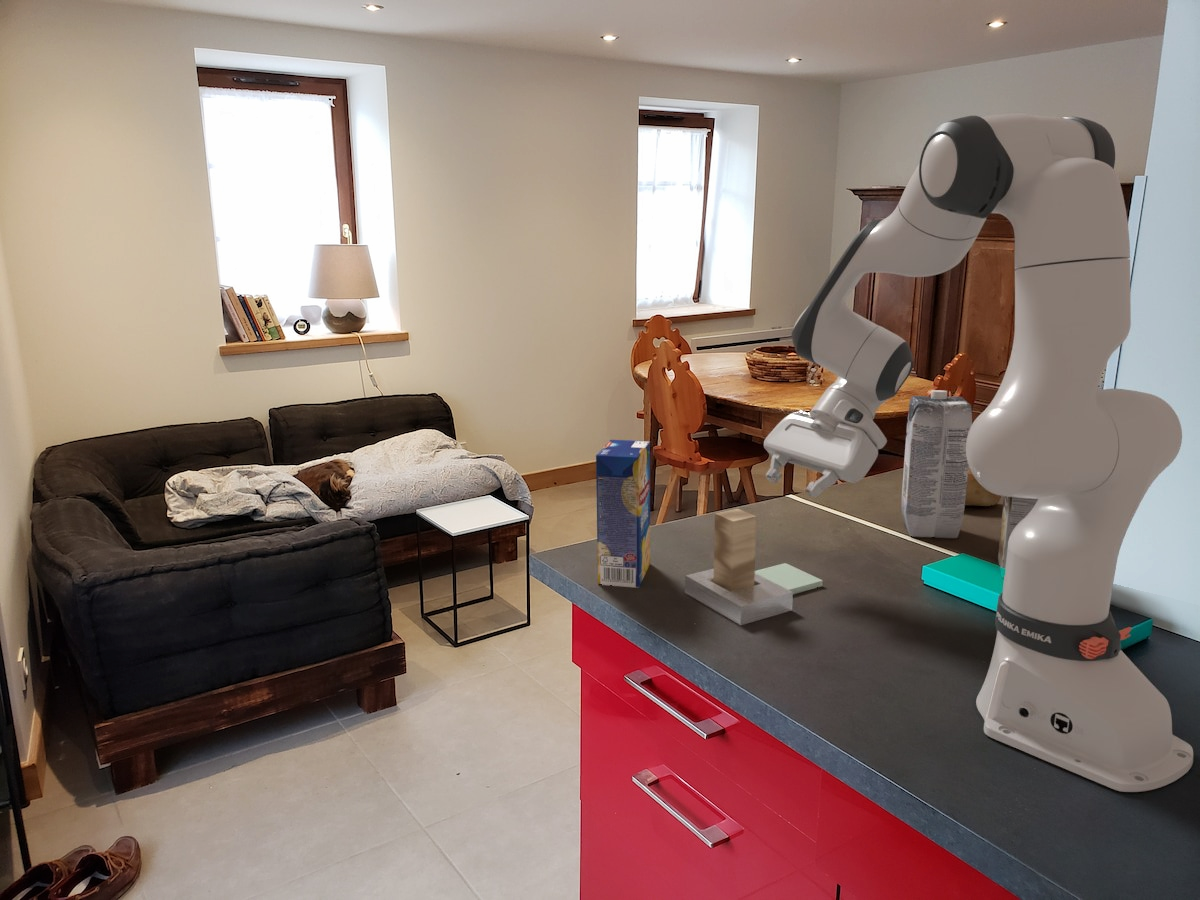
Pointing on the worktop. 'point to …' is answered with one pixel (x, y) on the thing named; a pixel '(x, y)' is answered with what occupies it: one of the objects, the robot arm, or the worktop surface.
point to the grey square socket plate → (740, 597)
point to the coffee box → (1012, 521)
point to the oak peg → (734, 549)
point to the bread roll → (978, 493)
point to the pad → (790, 578)
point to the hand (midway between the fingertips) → (789, 487)
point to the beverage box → (623, 512)
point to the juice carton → (935, 465)
